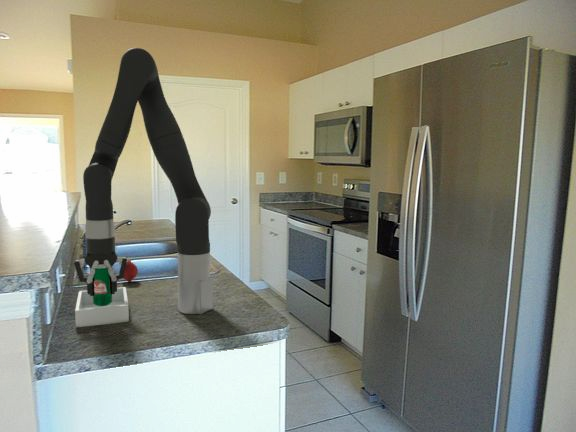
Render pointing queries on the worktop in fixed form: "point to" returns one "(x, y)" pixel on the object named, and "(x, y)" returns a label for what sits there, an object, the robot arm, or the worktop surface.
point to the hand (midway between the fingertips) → (102, 294)
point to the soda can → (102, 286)
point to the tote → (101, 309)
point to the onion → (130, 271)
